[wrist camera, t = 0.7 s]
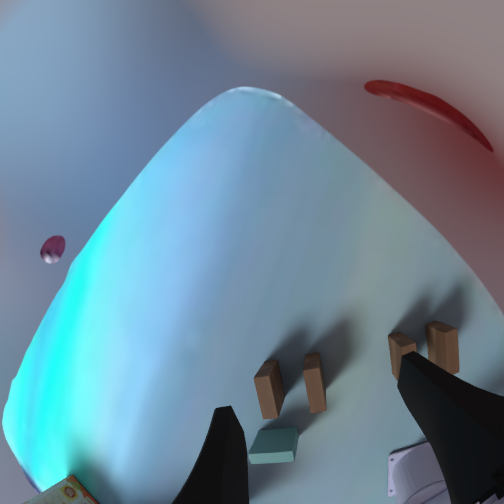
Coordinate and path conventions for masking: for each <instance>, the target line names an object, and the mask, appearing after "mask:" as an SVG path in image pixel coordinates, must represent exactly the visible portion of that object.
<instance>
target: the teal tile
mask: <svg viewBox="0 0 504 504" xmlns="http://www.w3.org/2000/svg"><path fill="white" fill-rule="evenodd" d="M298 438H299V434H298V429H297V426H296V427H288V428H279V429H268V430H259V431H258V434H257V436H256V438H255V440H254V443H253V445H252V447H251V449H250V451H249V453H248V455H249V458H250V462H251V464H265V463H281V462H292V461H294V460H295V455H296V450H297V444H298Z"/></svg>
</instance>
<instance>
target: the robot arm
mask: <svg viewBox="0 0 504 504" xmlns="http://www.w3.org/2000/svg"><path fill="white" fill-rule="evenodd" d="M397 387H398V389H399V392H400V394H401V396H402V398H403V400H404V402H405V404H406V406H407V408H408V409H409V411H410V412H411V414H412V416H413V417H414V419H415V420H416V422H417V423H418V425H419V427H420V428H421V430H422V431H423V433H424V435H425V436H426V438H427V439H428V441H429V442H426V443H423V444H420V445H417V446H414V447H411V448H408V449H405V450H402V451H398V452H395V453H392V454H390V455H389V456H388V496H389V497H391V496H395V498H396V502H397V504H504V397H503V396H500V395H496V394H493V393H490V392H488V391H485V390H483V389H480V388H478V387H475V386H473V385H471V384H469V383H467V382H465V381H463V380H461V379H459V378H458V377H456V376H454V375H452V374H451V373H449V372H447V371H445V370H444V369H442V368H440V367H439V366H437V365H436V364H434V363H432V362H431V361H429V360H428V359H426V358H425V357H423V356H422V355H420V354H418V353H417V352H415V351H411V352H409V353H407V354H404V355H402V357H401V365H400V372H399V378H398V385H397ZM392 458H393V459H392ZM391 459H392V460H391ZM172 504H249V495H248V463H247V448H246V442H245V436H244V431H243V429H242V427H241V425H240V423H239V421H238V419H237V417H236V415H235V413H234V411H233V409H232V407H231V406H226V407H219V408H216V409H215V410H214V414H213V417H212V421H211V424H210V427H209V430H208V433H207V436H206V439H205V442H204V444H203V447H202V449H201V452H200V454H199V456H198V459H197V461H196V463H195V465H194V467H193V469H192V471H191V473H190V475H189V477H188V479H187V481H186V482H185V484H184V486H183V487H182V489H181V491H180V492H179V494H178V495H177V497H176V498H175V500H174V501H173V502H172Z"/></svg>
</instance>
